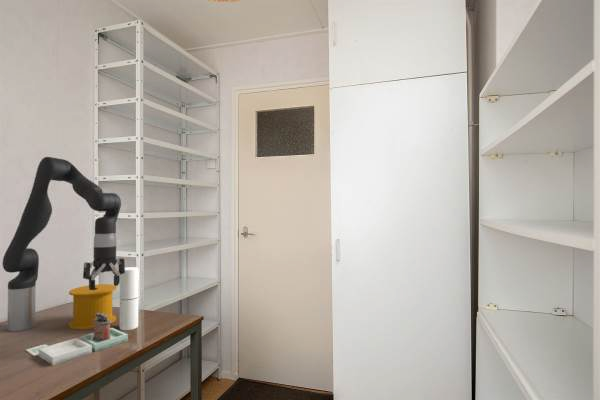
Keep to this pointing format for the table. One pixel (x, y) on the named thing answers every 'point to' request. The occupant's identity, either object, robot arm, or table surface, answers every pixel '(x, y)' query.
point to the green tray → (115, 339)
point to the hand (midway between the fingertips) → (104, 287)
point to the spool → (91, 305)
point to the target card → (35, 350)
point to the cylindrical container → (129, 298)
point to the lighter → (101, 327)
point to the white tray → (65, 351)
